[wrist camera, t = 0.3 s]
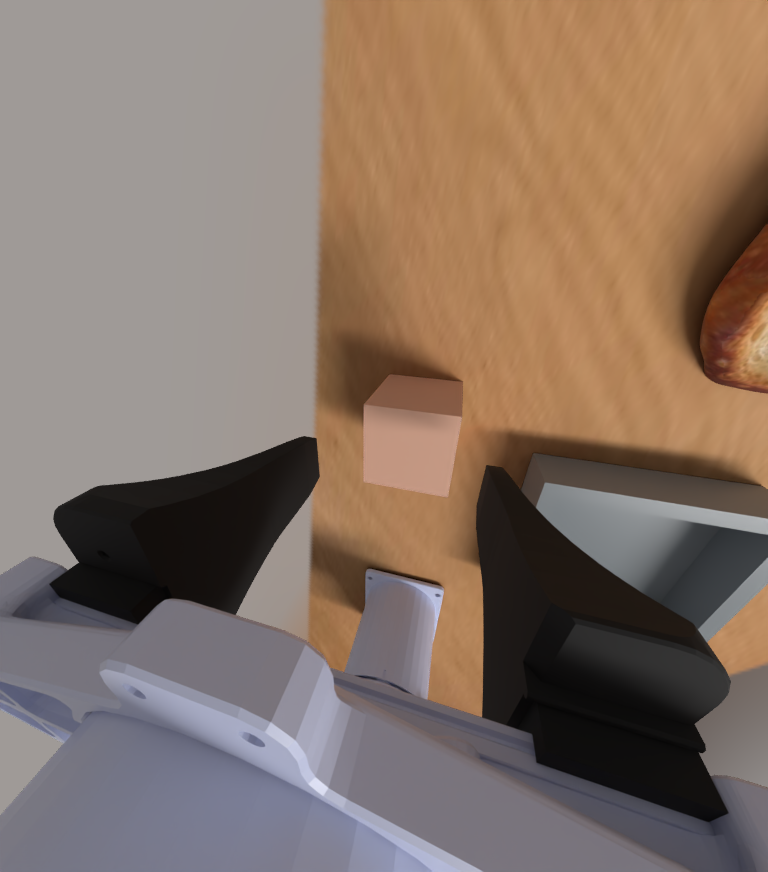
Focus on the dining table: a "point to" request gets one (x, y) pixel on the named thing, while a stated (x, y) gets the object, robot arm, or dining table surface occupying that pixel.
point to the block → (412, 433)
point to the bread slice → (740, 322)
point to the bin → (661, 532)
